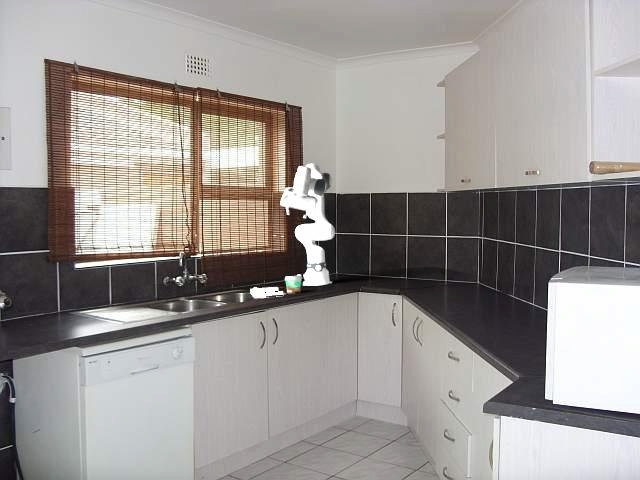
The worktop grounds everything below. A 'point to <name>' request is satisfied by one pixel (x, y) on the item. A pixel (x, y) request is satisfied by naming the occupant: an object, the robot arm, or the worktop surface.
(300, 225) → the robot arm
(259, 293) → the white cutting board
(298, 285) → the food container
